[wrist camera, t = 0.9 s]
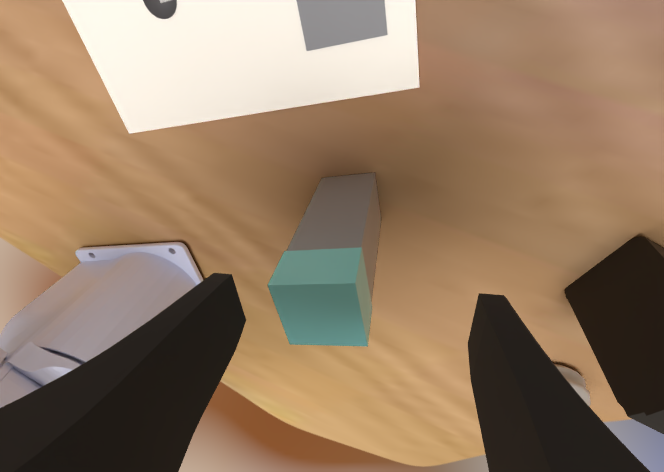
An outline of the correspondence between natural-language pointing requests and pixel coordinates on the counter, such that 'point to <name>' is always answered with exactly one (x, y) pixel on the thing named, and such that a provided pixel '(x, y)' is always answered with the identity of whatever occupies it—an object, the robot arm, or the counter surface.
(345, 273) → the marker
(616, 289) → the ink cartridge
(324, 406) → the counter surface
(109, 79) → the paper sheet
